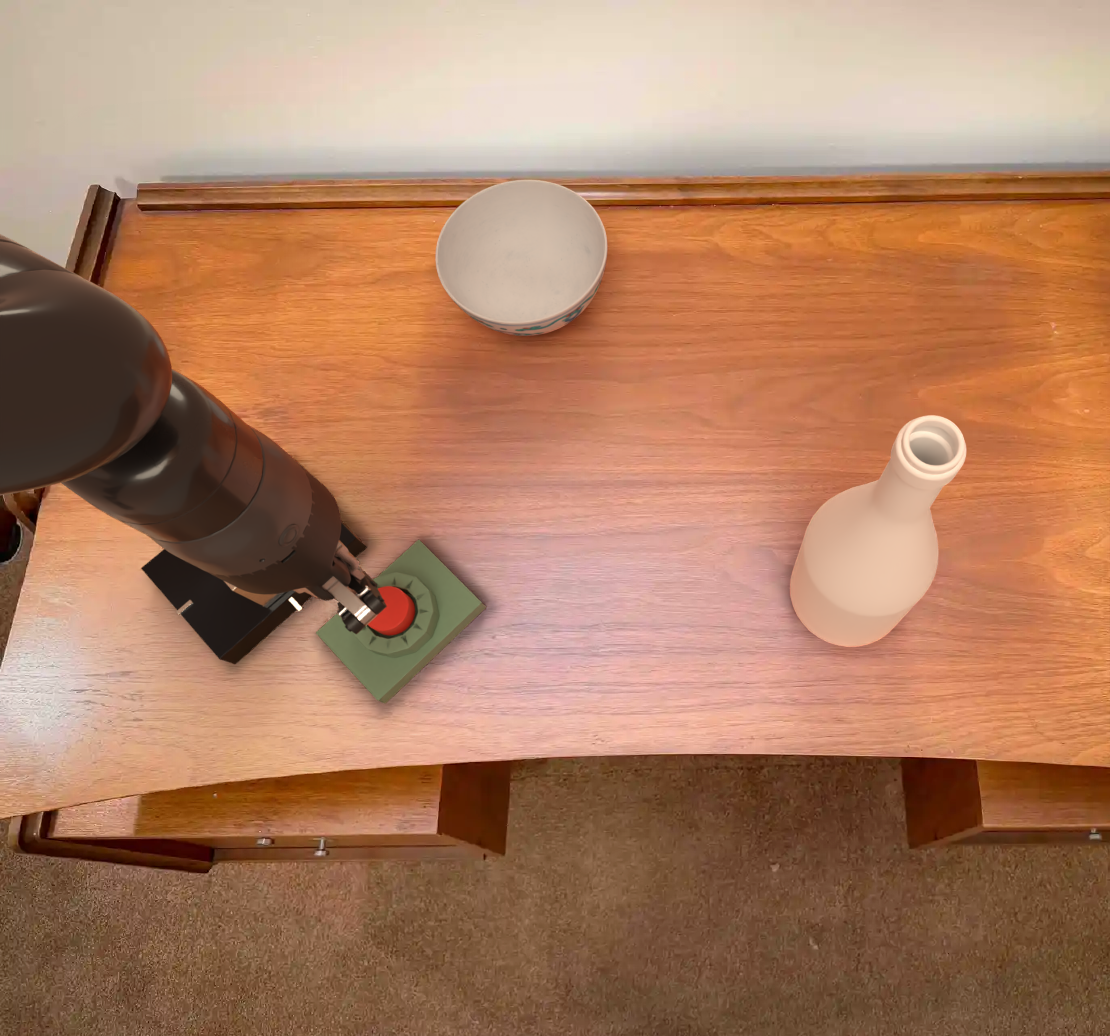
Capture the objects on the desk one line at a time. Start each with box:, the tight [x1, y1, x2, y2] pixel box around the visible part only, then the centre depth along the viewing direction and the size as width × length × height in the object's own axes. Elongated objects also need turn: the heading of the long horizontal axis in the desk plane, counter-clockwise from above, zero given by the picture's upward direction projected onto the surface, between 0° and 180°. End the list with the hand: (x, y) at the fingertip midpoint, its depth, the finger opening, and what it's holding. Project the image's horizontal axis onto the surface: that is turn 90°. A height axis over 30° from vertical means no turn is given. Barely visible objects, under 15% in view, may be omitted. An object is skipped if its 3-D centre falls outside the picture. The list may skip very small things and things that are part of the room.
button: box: [368, 586, 415, 635], centre depth 69 cm, size 4×4×2 cm
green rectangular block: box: [315, 539, 487, 705], centre depth 71 cm, size 11×8×4 cm
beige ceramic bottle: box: [789, 414, 967, 648], centre depth 58 cm, size 10×10×30 cm
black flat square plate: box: [140, 519, 368, 665], centre depth 73 cm, size 14×14×3 cm
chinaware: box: [435, 179, 609, 337], centre depth 79 cm, size 15×15×8 cm
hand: (361, 590), depth 63 cm, fingers closed
